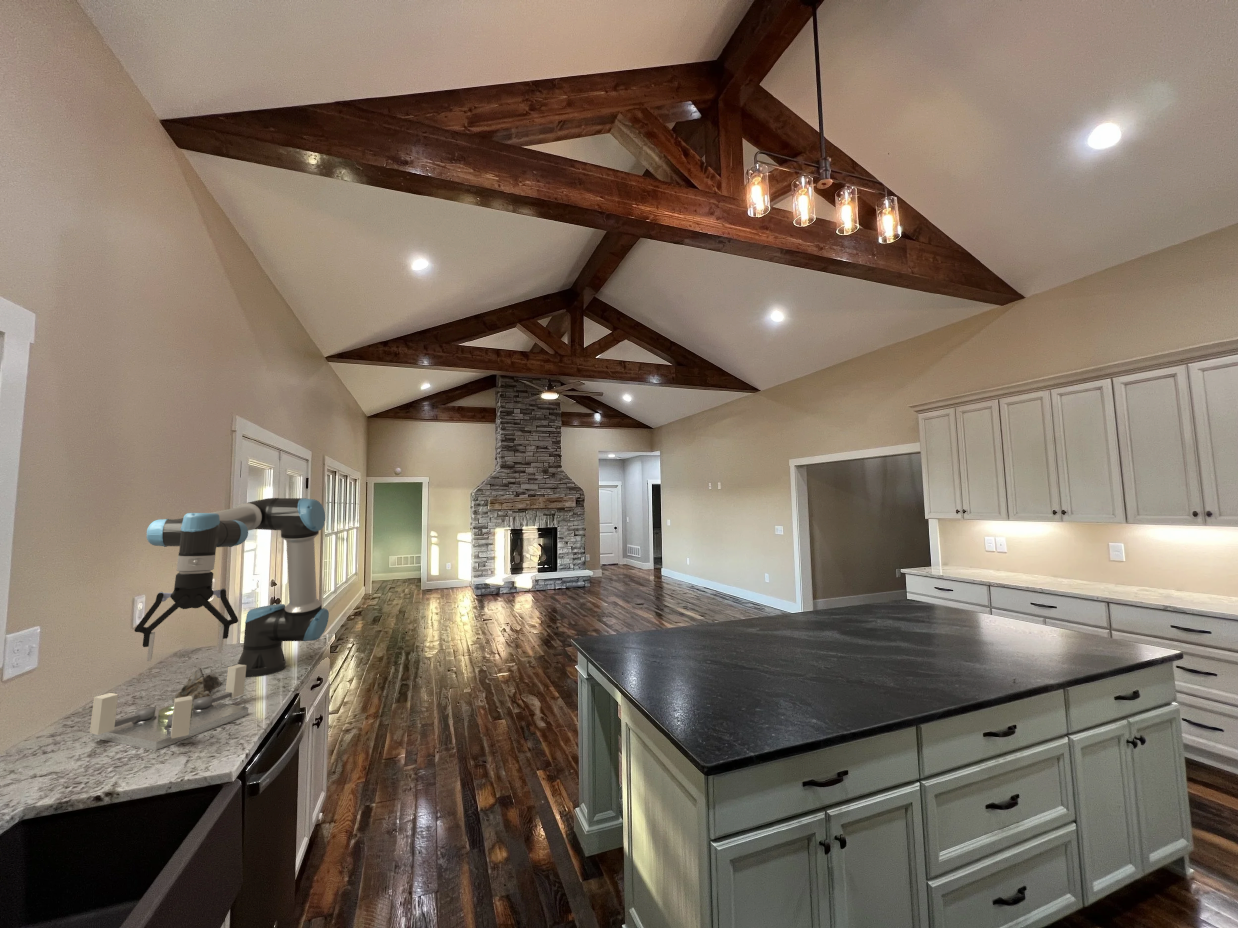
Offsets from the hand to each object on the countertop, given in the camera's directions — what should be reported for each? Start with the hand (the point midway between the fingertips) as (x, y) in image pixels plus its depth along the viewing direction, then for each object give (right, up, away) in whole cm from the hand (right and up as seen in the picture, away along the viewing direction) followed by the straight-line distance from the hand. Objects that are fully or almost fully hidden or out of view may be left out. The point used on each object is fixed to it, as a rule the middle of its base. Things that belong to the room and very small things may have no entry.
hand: (185, 655), depth 127 cm
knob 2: (-2, -19, 0) cm, 19 cm away
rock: (-24, -25, +32) cm, 47 cm away
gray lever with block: (-7, -21, +19) cm, 29 cm away
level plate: (-10, -22, +8) cm, 25 cm away
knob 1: (-18, -19, +2) cm, 26 cm away
